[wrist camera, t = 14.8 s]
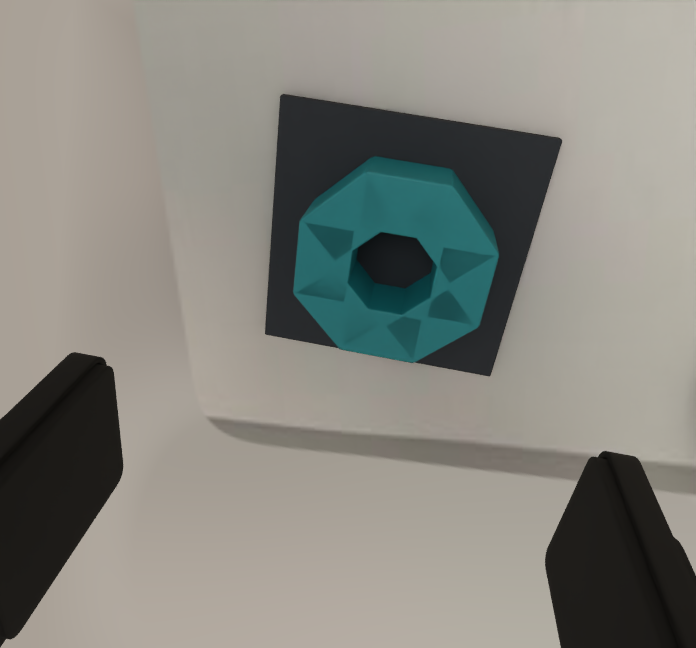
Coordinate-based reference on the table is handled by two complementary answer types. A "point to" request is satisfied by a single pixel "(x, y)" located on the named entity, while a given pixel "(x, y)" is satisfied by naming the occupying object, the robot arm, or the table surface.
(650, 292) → the table surface
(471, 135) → the mat
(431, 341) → the ring
